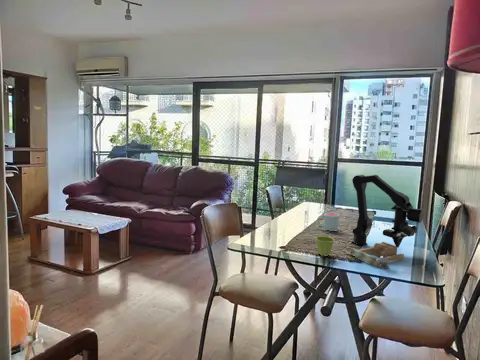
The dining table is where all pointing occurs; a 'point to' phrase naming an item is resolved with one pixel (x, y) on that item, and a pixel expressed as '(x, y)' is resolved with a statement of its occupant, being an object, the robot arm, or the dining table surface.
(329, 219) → the mug
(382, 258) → the winch drum
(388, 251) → the crate
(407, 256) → the dining table surface
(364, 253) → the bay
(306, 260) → the dining table surface
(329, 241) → the plant pot
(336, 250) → the dining table surface
